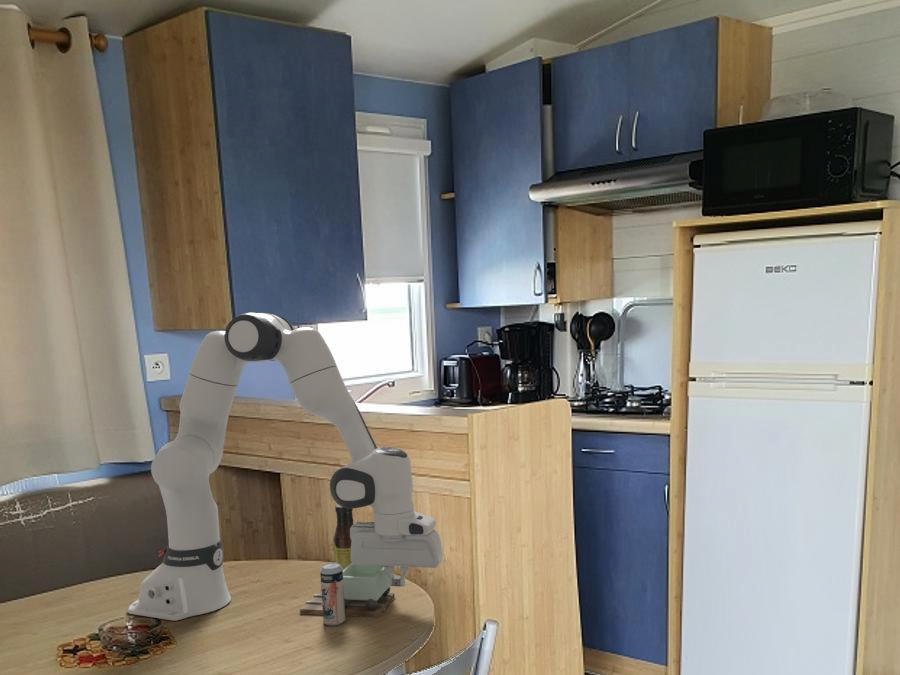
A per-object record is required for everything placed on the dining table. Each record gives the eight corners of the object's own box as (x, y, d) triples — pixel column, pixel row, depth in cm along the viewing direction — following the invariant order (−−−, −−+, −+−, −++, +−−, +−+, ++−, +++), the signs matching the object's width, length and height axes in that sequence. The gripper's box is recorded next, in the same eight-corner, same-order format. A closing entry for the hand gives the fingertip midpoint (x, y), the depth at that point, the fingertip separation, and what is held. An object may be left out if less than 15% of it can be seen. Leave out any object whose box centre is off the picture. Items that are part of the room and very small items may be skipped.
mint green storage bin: (337, 608, 159) (335, 577, 159) (353, 592, 169) (351, 562, 168) (377, 610, 157) (375, 578, 157) (391, 594, 166) (389, 563, 166)
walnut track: (300, 613, 161) (299, 607, 161) (320, 594, 171) (320, 588, 171) (378, 617, 156) (377, 610, 156) (394, 597, 167) (394, 591, 167)
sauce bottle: (350, 580, 180) (345, 499, 180) (369, 584, 176) (364, 502, 176) (330, 589, 175) (325, 505, 174) (349, 593, 171) (344, 508, 171)
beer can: (318, 623, 155) (314, 566, 155) (336, 615, 158) (333, 560, 158) (332, 628, 152) (328, 570, 151) (350, 621, 155) (347, 564, 155)
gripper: (344, 525, 160) (347, 589, 160) (435, 527, 155) (438, 592, 155) (354, 517, 166) (357, 578, 166) (442, 519, 161) (445, 582, 162)
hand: (397, 585), depth 161 cm, fingers closed
